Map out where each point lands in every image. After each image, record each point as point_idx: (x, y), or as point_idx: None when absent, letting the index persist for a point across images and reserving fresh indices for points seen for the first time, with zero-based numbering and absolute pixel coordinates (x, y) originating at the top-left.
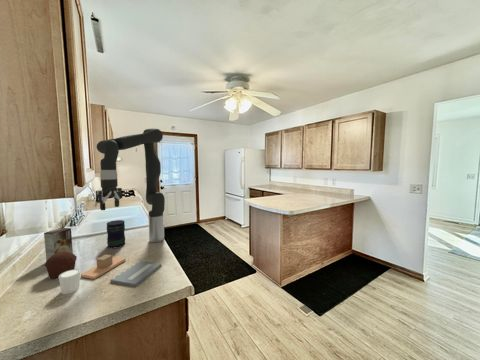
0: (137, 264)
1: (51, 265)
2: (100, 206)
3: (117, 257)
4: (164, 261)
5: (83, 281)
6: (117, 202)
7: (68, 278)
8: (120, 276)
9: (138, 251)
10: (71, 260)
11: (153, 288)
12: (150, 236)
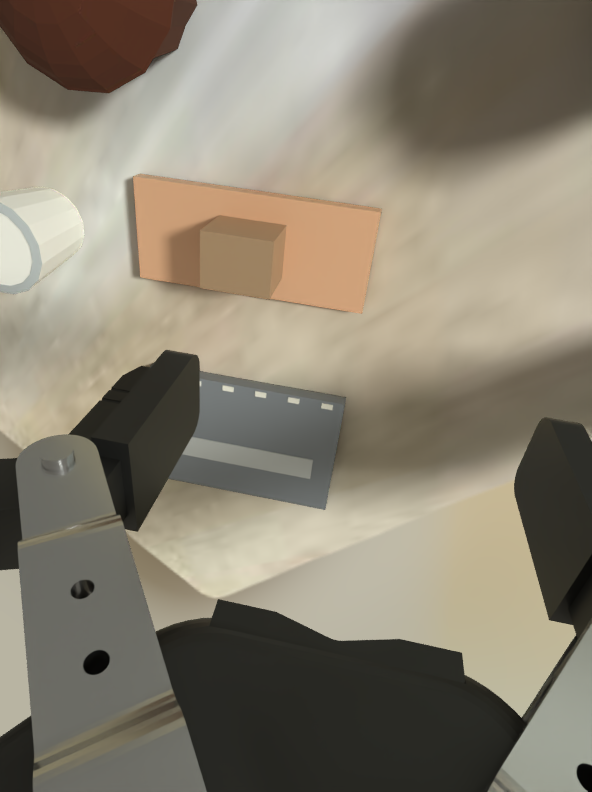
0: (300, 414)
1: None
2: (99, 412)
3: (369, 250)
4: (372, 500)
5: (118, 227)
6: (539, 559)
7: None
8: None
9: (518, 310)
10: (91, 85)
11: (170, 521)
12: None
